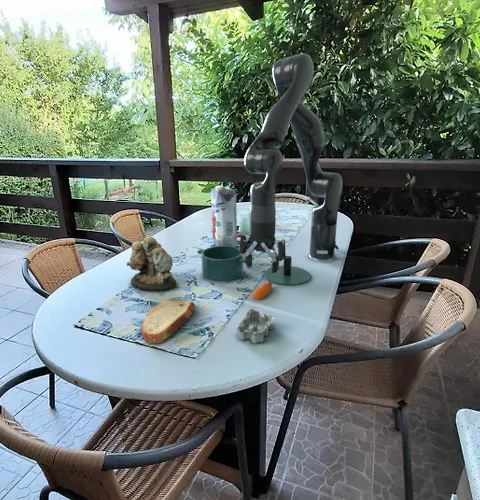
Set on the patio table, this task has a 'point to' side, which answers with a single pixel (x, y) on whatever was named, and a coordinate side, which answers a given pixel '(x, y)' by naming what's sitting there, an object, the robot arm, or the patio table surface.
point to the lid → (288, 274)
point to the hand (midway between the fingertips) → (261, 269)
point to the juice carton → (224, 216)
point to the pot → (222, 263)
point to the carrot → (262, 291)
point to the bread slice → (166, 319)
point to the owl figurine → (151, 266)
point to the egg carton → (254, 326)
